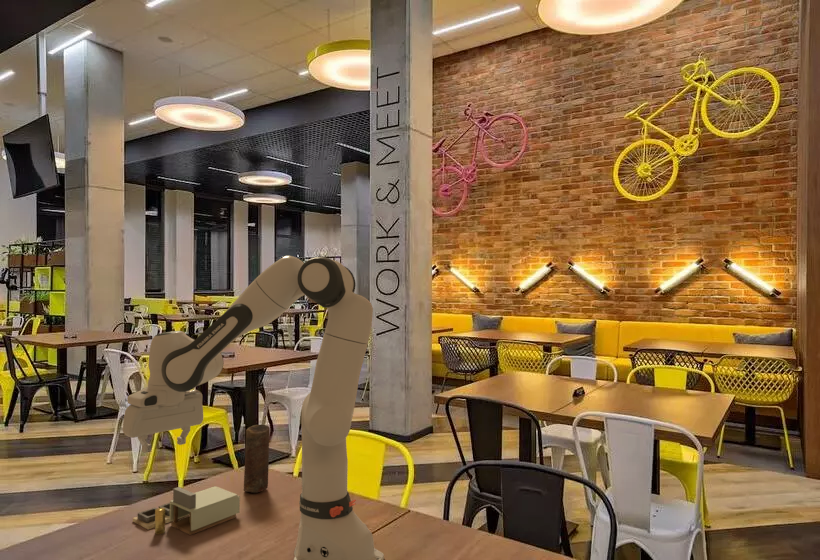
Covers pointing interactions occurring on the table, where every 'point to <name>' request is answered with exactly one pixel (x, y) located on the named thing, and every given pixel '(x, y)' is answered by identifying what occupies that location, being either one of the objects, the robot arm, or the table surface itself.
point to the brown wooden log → (256, 458)
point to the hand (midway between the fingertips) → (164, 447)
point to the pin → (160, 521)
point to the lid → (204, 505)
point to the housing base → (186, 523)
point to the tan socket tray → (152, 517)
